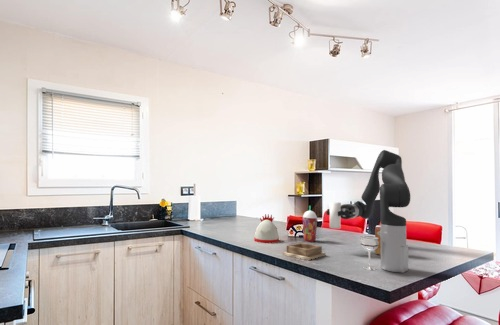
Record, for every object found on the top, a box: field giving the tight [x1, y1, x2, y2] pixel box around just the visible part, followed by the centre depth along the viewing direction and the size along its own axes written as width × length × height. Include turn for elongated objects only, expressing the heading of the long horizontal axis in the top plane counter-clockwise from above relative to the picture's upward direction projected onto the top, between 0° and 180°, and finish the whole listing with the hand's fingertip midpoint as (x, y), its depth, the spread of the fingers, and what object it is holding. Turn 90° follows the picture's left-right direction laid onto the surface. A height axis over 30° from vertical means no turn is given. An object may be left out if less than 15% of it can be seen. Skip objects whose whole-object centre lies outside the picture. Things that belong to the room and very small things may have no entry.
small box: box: [374, 224, 381, 256], centre depth 148 cm, size 8×6×13 cm
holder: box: [282, 242, 327, 261], centre depth 142 cm, size 14×14×4 cm
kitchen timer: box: [253, 213, 280, 244], centre depth 176 cm, size 14×14×15 cm
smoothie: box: [302, 205, 318, 243], centre depth 177 cm, size 8×8×20 cm
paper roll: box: [328, 201, 342, 229], centre depth 150 cm, size 5×5×12 cm
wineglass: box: [360, 235, 379, 271], centre depth 122 cm, size 7×7×12 cm
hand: (333, 213), depth 148 cm, fingers closed on paper roll, 5 cm apart
